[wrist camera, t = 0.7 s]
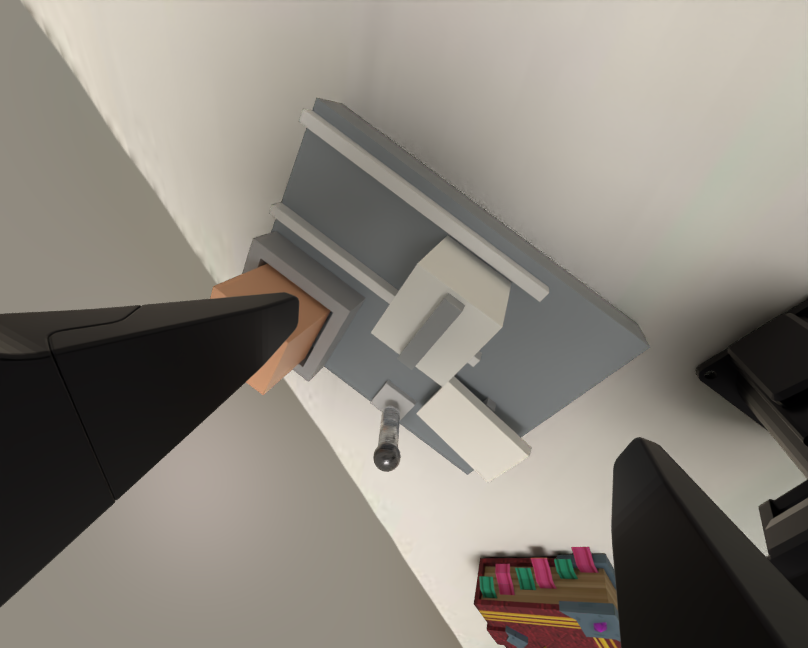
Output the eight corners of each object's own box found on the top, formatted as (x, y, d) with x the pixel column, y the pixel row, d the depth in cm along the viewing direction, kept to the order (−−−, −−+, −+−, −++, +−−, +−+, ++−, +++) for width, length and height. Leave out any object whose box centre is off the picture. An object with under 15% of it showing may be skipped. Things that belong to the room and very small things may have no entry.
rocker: (531, 447, 19) (529, 456, 18) (491, 473, 21) (487, 483, 20) (453, 375, 20) (448, 381, 19) (421, 407, 22) (416, 413, 21)
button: (331, 310, 20) (288, 343, 16) (304, 358, 22) (263, 395, 19) (268, 262, 20) (213, 286, 16) (249, 316, 22) (198, 346, 19)
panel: (637, 324, 18) (663, 370, 14) (473, 448, 26) (462, 499, 22) (342, 103, 18) (291, 91, 14) (269, 294, 26) (224, 318, 22)
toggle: (407, 405, 22) (405, 467, 19) (396, 417, 23) (391, 479, 20) (386, 396, 22) (379, 459, 18) (375, 409, 23) (367, 471, 19)
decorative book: (544, 647, 35) (544, 713, 31) (471, 543, 32) (461, 603, 28) (671, 663, 30) (693, 747, 25) (600, 539, 26) (612, 613, 22)
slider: (511, 282, 17) (500, 334, 12) (463, 334, 19) (439, 395, 14) (447, 235, 17) (412, 268, 12) (407, 292, 19) (364, 339, 14)
